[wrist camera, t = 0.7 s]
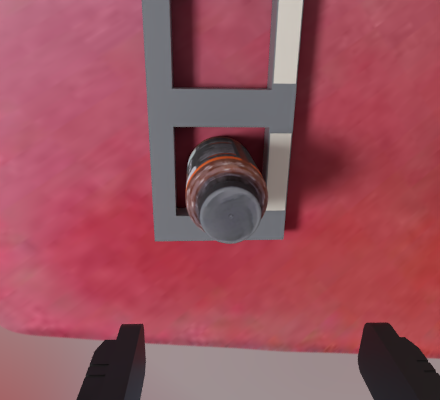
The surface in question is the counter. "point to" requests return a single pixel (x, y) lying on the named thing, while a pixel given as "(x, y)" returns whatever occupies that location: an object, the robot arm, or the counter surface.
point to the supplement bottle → (225, 190)
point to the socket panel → (220, 117)
